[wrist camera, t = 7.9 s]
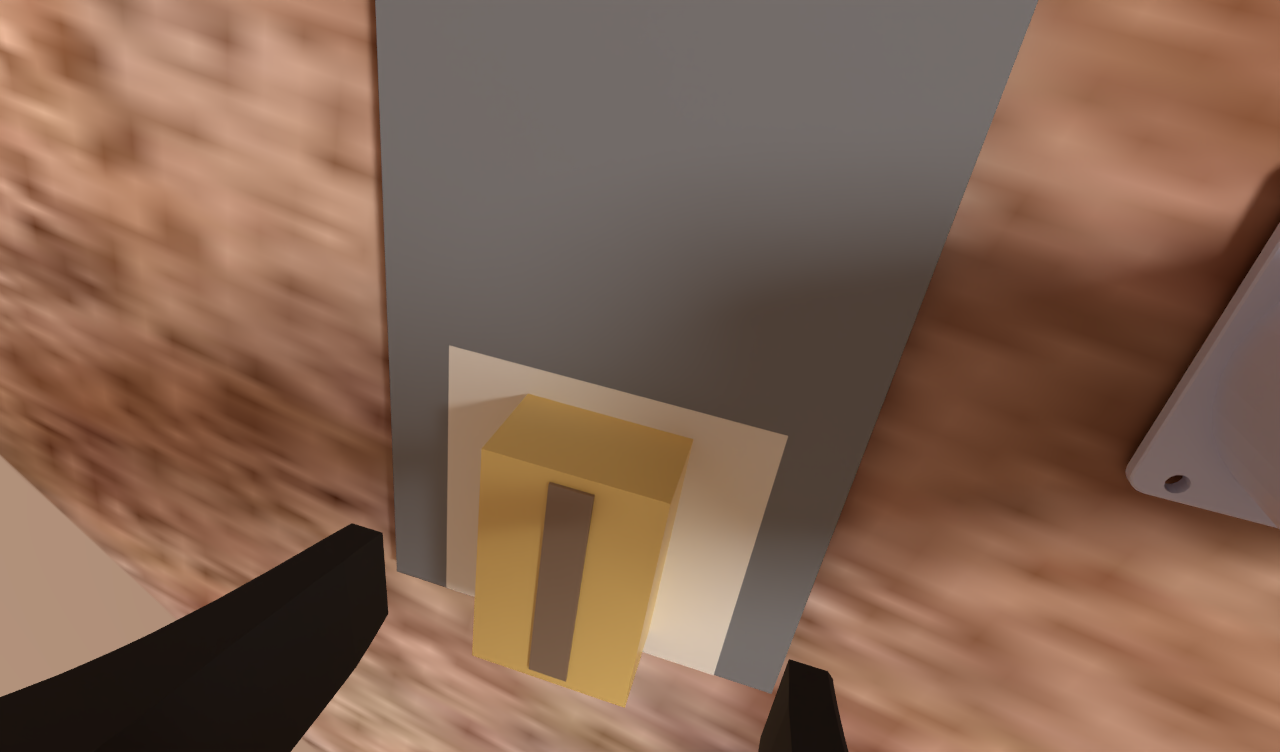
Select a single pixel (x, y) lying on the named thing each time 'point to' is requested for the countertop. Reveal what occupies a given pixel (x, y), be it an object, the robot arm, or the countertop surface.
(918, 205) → the mat
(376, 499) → the countertop surface
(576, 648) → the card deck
